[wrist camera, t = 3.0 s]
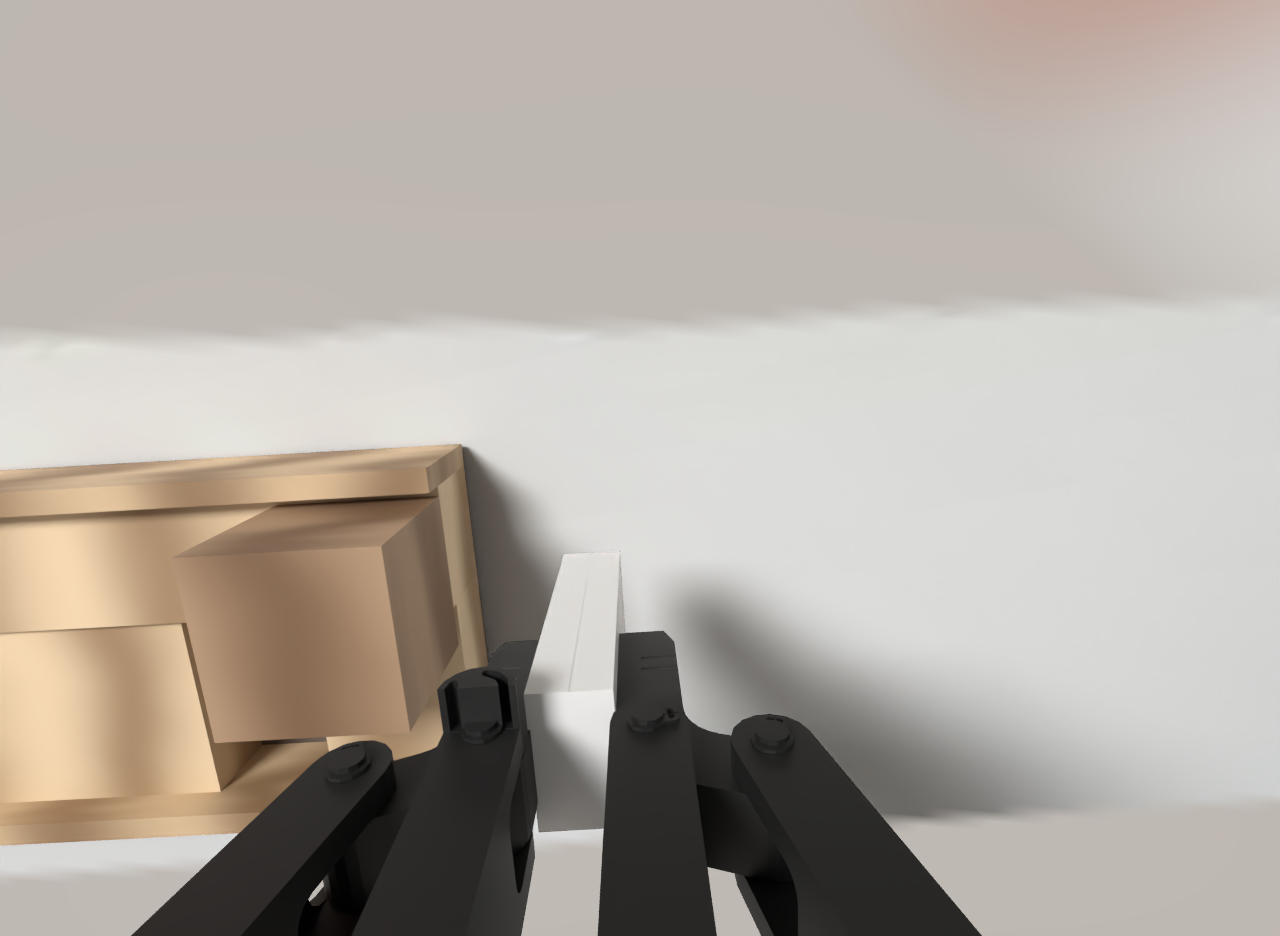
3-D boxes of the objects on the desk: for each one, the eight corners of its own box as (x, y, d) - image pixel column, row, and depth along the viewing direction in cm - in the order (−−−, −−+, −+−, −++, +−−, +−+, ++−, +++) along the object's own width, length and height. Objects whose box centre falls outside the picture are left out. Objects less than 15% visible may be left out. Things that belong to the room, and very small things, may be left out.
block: (438, 495, 19) (380, 546, 15) (458, 645, 20) (410, 732, 16) (276, 505, 19) (170, 557, 15) (304, 653, 21) (214, 742, 16)
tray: (461, 444, 22) (405, 482, 17) (497, 746, 25) (459, 863, 19) (-304, 487, 22) (-602, 539, 17) (-187, 782, 25) (-412, 908, 20)
